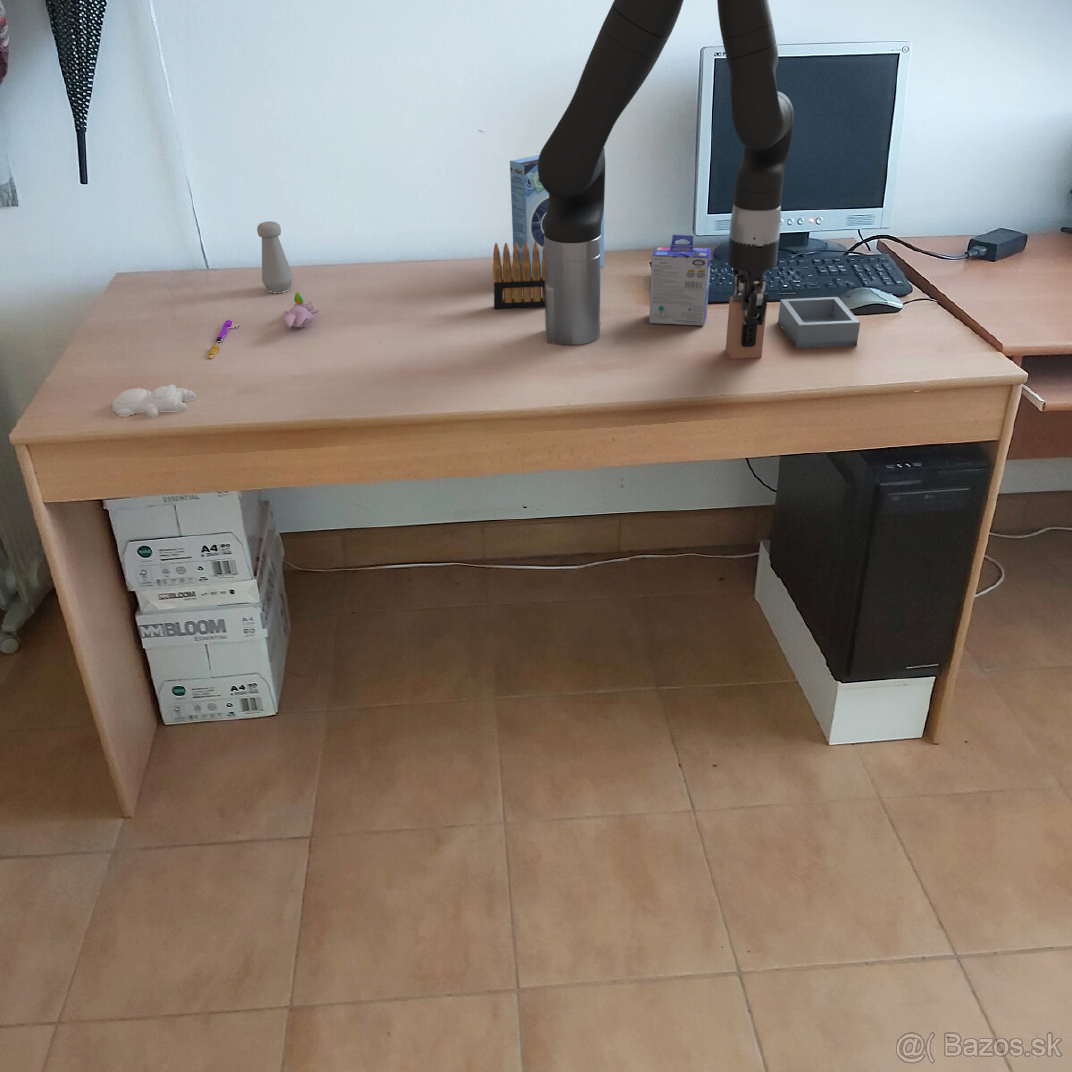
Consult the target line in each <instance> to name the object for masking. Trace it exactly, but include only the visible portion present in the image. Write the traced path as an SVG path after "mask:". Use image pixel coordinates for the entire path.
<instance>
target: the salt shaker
mask: <svg viewBox="0 0 1072 1072" xmlns="http://www.w3.org/2000/svg"><path fill="white" fill-rule="evenodd" d="M256 232H257V235H258V237H260V238H261V280H262V283H263V285H264V286H265V288H266V290H267V291H268V290H269V291H272V292H283V291H286V290H288V289H290V290H291V288H292V287H291V286H292V283H293V279H294V277H293V274H292V271H291V268H290V265H289V262H288V260H287V258H286V255H285V254H286V253H285V252H284V249H283V246H282V244H281V242H280V239H279V236H281V233H282V228H281V226H280V224H279V223H278V222H276V221H269V220H268V221H263V222H261V223H259V224H258V225H257V227H256ZM269 291H268V292H269Z"/></svg>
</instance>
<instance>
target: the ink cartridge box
mask: <svg viewBox="0 0 1072 1072" xmlns="http://www.w3.org/2000/svg"><path fill="white" fill-rule="evenodd" d="M680 240H685V241H687V242H689V243H688V244H685V243H676V241H680ZM711 253H712V251H711V248H708V247H707V248H704V247H702V248H701V247H694V235H687V234H685V235H684V234H672V237H671V244H670V247H655V248H654V251H653V252H652V255H651V262H650V263H651V265H650V293H649V319H648V320H649V321H648V323H649V324H659V325H660V324H661V325H662V324H664V325H682V326H683V325H684V326H699V327H700V326H705V323H706V320H707V317H708V316H707V315H708V305H709V304H708V301H709V292H710V278H711V277H710V276H711V257H712V256H711Z"/></svg>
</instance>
